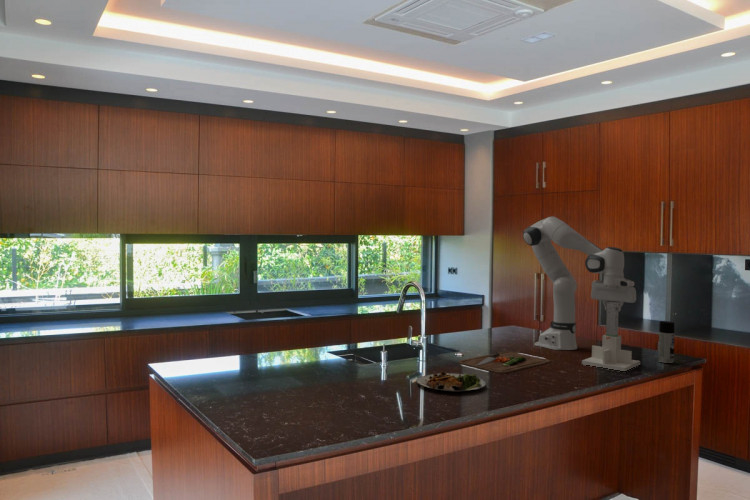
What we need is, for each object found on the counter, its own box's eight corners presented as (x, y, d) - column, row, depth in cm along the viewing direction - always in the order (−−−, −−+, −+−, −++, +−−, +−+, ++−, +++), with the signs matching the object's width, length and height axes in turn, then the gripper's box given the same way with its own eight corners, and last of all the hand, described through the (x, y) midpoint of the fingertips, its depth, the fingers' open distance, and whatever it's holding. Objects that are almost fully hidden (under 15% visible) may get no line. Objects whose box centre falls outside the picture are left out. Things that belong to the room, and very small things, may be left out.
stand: (581, 364, 273) (582, 335, 273) (598, 358, 288) (599, 330, 287) (624, 372, 260) (625, 341, 259) (640, 365, 274) (641, 336, 274)
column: (605, 340, 273) (606, 302, 272) (609, 339, 276) (610, 301, 275) (614, 341, 270) (615, 303, 270) (617, 340, 273) (618, 302, 273)
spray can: (672, 365, 276) (673, 323, 275) (656, 362, 280) (658, 322, 279) (674, 362, 281) (676, 321, 280) (659, 360, 285) (660, 320, 284)
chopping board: (497, 376, 251) (498, 369, 251) (452, 364, 271) (452, 358, 271) (555, 362, 280) (555, 356, 280) (510, 352, 300) (510, 347, 300)
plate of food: (499, 386, 233) (499, 371, 233) (457, 399, 214) (457, 383, 214) (445, 375, 253) (445, 362, 253) (402, 386, 234) (402, 371, 234)
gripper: (589, 280, 277) (588, 308, 277) (633, 283, 263) (632, 313, 264) (594, 279, 282) (593, 307, 282) (638, 282, 268) (637, 312, 268)
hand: (612, 310), depth 273 cm, fingers closed on column, 4 cm apart
